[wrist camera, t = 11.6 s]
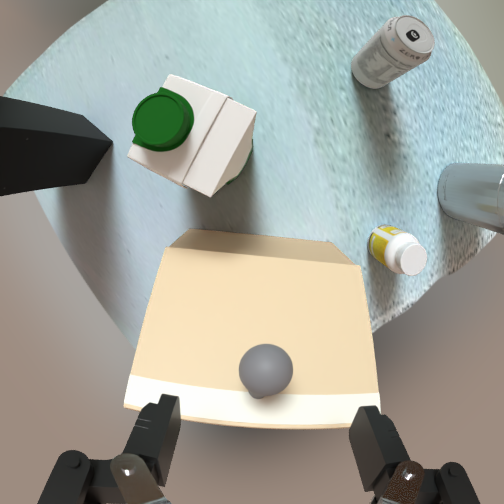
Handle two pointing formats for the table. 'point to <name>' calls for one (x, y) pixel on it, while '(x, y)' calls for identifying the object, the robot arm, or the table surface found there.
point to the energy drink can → (393, 51)
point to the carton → (261, 246)
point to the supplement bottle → (397, 250)
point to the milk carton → (192, 135)
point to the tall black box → (46, 147)
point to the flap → (256, 341)
